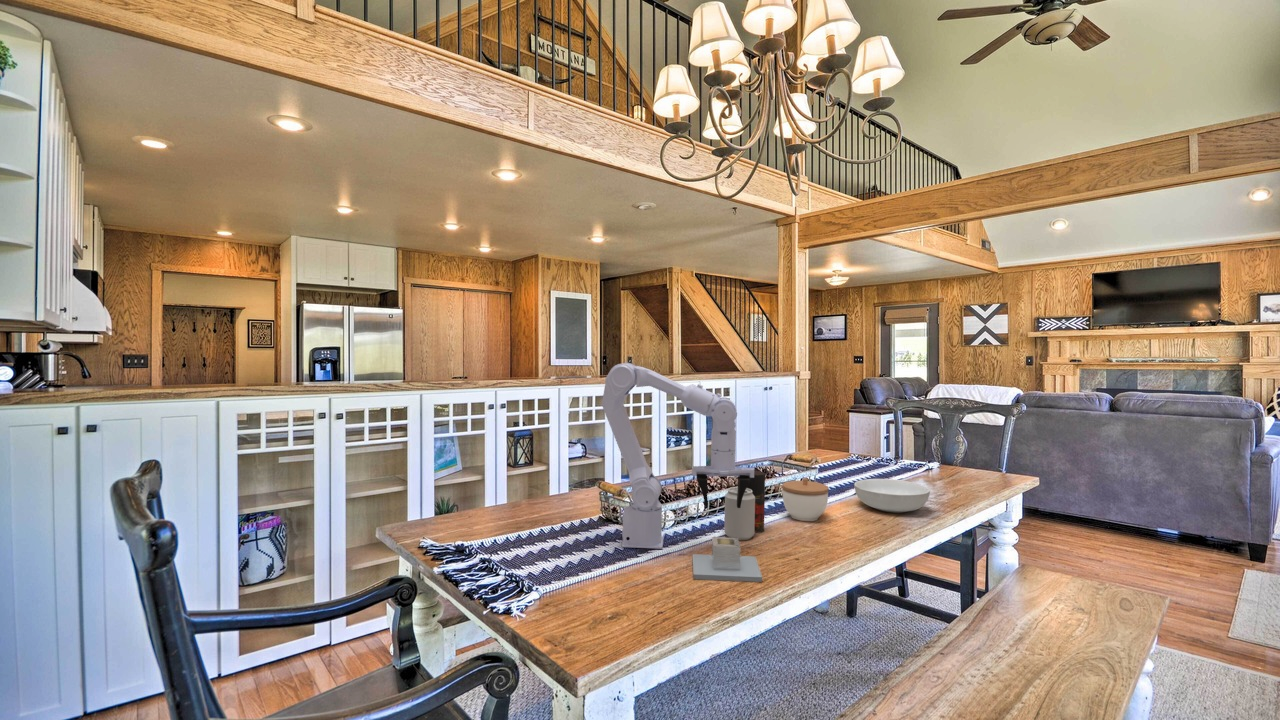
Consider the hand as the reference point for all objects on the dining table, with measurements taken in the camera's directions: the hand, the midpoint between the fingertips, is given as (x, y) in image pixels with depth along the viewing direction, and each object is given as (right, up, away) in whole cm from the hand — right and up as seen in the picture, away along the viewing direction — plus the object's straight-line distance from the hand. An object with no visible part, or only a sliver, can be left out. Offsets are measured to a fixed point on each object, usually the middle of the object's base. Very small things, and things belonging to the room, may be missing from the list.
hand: (722, 506), depth 142 cm
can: (+6, -10, +9) cm, 14 cm away
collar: (-1, -9, -14) cm, 16 cm away
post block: (-1, -10, -14) cm, 17 cm away
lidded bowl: (+27, -10, +26) cm, 39 cm away
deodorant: (+10, -10, +15) cm, 20 cm away
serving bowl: (+56, -10, +37) cm, 68 cm away
